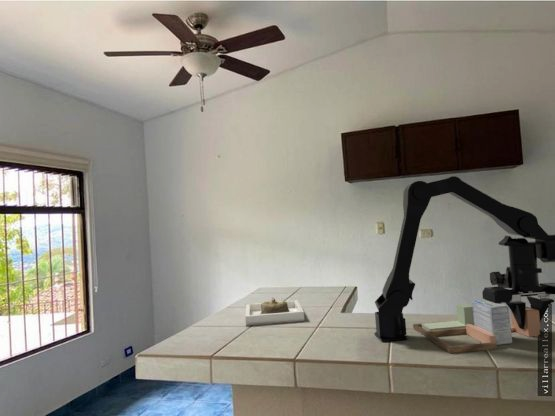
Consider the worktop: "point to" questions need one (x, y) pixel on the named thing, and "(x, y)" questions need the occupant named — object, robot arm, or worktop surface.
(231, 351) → the worktop surface
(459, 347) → the lane rails
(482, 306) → the medicine box
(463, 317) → the sage green stepped block
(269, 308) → the cake
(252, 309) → the white ceramic dish
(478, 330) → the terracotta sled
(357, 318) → the worktop surface
